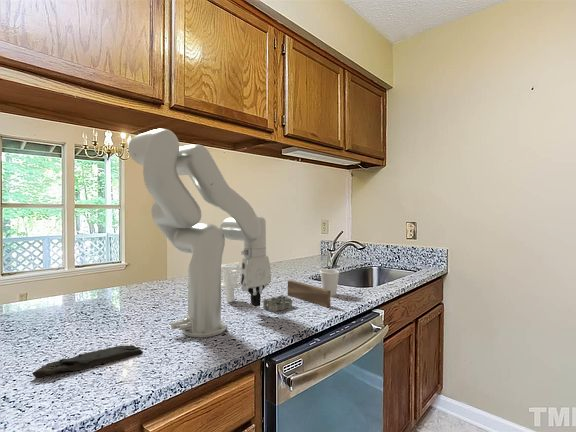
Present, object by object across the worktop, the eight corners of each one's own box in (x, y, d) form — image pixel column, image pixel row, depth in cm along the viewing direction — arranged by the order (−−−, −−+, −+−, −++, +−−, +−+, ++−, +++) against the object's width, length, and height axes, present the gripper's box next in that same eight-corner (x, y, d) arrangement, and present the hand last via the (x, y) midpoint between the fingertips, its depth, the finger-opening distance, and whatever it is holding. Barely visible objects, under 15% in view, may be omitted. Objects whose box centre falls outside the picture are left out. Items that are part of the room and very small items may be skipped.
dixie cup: (342, 293, 141) (342, 270, 141) (334, 297, 134) (335, 273, 133) (324, 290, 145) (324, 268, 145) (316, 295, 138) (316, 271, 138)
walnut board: (326, 307, 120) (326, 291, 120) (287, 295, 137) (287, 280, 137) (330, 306, 122) (330, 290, 122) (291, 294, 138) (291, 280, 138)
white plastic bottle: (235, 303, 124) (236, 264, 123) (218, 302, 125) (218, 263, 125) (241, 298, 131) (241, 261, 130) (224, 297, 132) (224, 260, 131)
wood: (136, 345, 86) (136, 334, 86) (145, 354, 81) (145, 342, 81) (30, 372, 72) (29, 358, 72) (32, 386, 66) (32, 371, 66)
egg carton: (271, 313, 113) (271, 302, 113) (259, 308, 119) (259, 297, 119) (295, 308, 120) (295, 297, 120) (282, 303, 126) (282, 292, 126)
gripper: (242, 256, 104) (243, 313, 105) (278, 251, 114) (279, 303, 115) (230, 253, 110) (231, 307, 111) (265, 249, 120) (266, 298, 120)
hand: (255, 305), depth 113 cm, fingers closed
